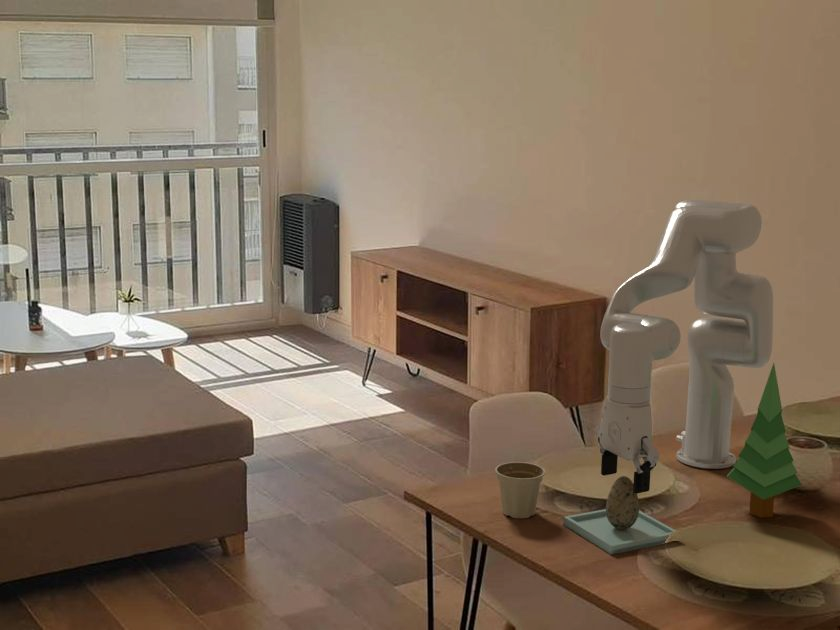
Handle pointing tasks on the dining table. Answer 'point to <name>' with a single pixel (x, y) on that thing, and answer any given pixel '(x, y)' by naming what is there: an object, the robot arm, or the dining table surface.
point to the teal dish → (618, 531)
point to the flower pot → (519, 488)
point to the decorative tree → (766, 455)
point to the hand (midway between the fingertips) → (624, 482)
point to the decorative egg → (622, 504)
